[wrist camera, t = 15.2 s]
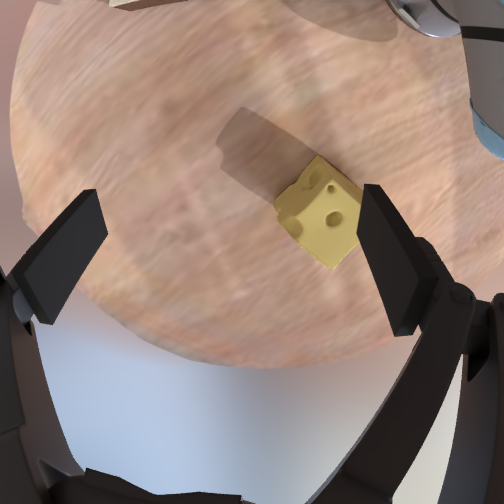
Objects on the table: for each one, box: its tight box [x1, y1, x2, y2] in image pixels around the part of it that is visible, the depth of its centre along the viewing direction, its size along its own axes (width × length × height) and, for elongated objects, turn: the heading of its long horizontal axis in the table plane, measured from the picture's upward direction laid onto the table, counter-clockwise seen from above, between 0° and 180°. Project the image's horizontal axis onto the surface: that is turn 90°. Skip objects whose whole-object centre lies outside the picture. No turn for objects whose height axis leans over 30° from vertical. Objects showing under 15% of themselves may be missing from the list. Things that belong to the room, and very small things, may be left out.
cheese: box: [274, 155, 363, 269], centre depth 44 cm, size 10×11×10 cm
